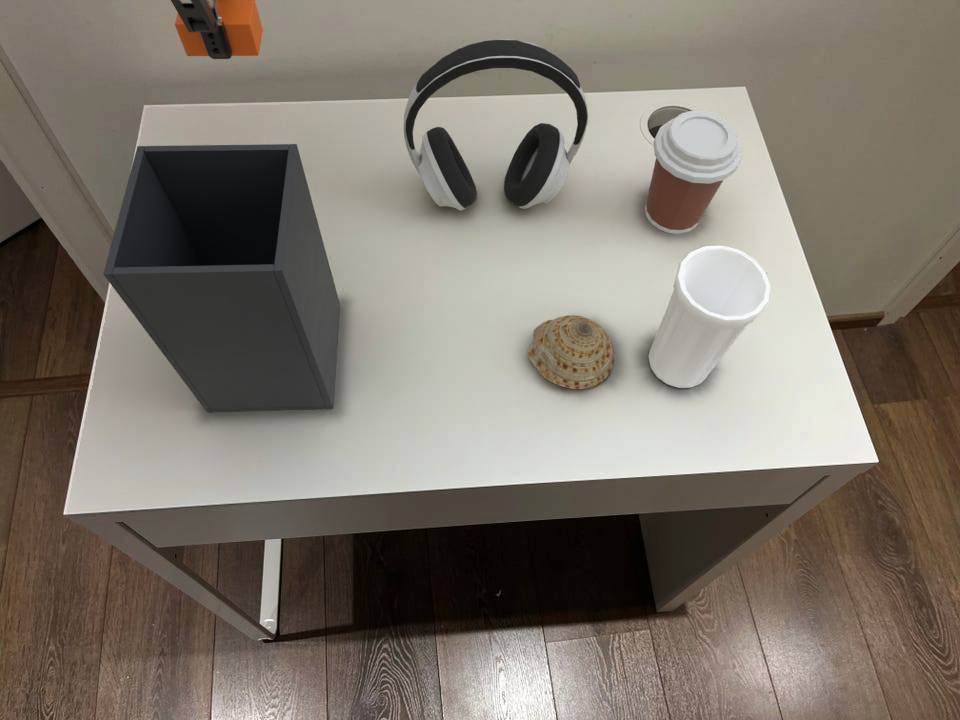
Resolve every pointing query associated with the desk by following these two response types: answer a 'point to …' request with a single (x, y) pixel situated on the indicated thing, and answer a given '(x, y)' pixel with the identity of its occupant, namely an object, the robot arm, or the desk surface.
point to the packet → (228, 29)
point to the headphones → (538, 154)
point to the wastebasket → (230, 274)
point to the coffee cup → (690, 168)
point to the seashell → (572, 352)
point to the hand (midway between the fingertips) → (224, 40)
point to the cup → (707, 313)
